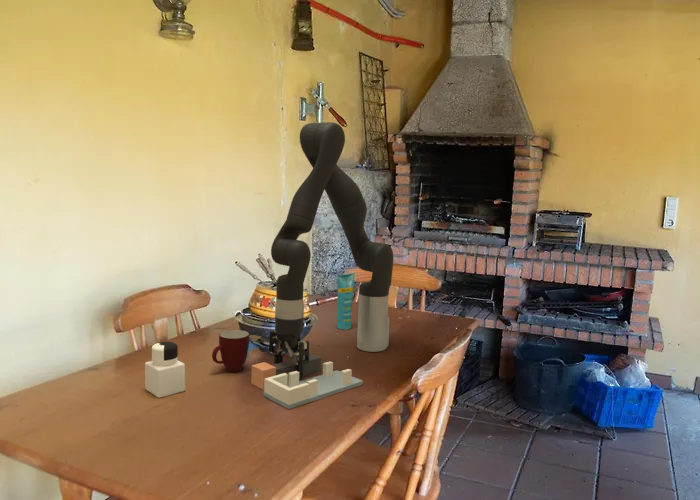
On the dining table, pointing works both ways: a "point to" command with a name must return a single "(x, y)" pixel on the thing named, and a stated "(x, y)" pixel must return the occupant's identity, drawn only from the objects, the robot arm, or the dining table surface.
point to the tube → (345, 300)
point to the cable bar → (282, 369)
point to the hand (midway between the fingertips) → (288, 373)
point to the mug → (232, 349)
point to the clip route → (308, 386)
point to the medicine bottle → (164, 370)
